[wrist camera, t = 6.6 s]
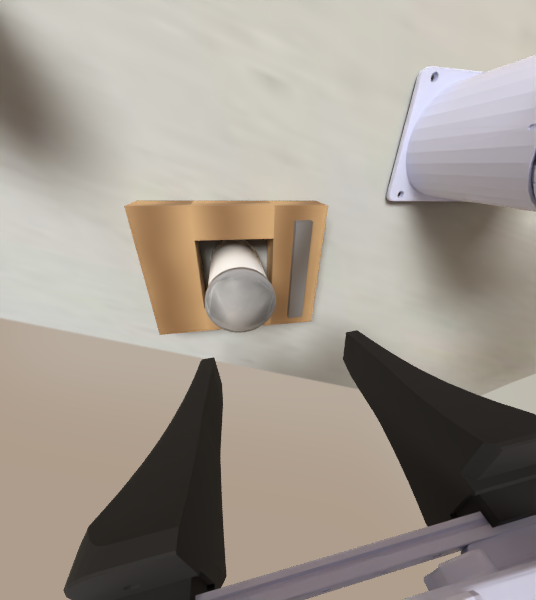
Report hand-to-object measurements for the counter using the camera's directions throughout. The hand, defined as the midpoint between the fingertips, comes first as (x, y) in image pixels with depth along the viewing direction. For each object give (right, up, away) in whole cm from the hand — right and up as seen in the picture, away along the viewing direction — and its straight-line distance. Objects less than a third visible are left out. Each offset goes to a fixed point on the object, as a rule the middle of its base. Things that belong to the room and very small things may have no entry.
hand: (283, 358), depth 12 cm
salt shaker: (-4, +6, +7) cm, 10 cm away
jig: (-4, +6, +7) cm, 10 cm away
